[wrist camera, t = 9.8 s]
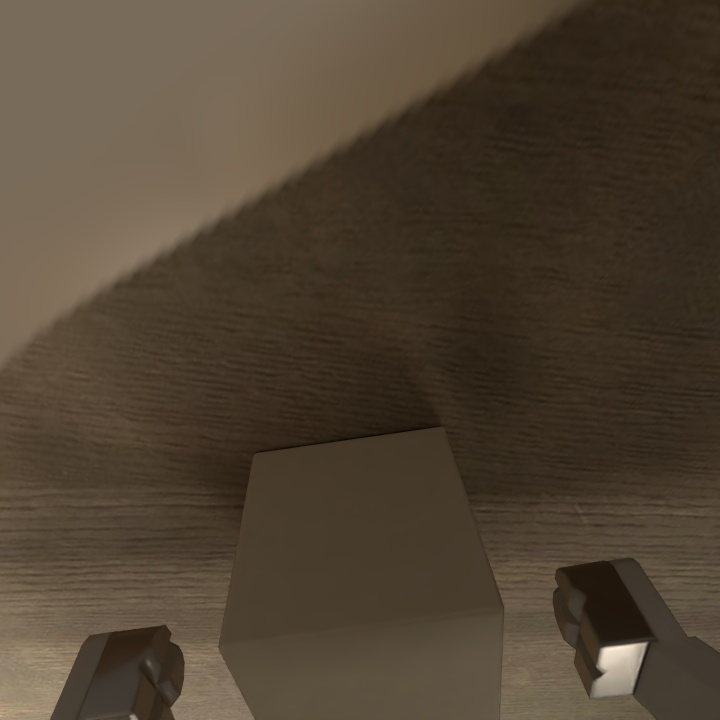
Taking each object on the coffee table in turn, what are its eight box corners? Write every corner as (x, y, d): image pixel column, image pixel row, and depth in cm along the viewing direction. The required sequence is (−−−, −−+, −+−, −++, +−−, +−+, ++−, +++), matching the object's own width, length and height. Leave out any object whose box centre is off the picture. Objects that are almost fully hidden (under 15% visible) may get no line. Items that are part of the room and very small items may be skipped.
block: (252, 451, 11) (215, 649, 7) (444, 424, 11) (506, 609, 7) (291, 571, 13) (278, 769, 10) (450, 549, 13) (500, 739, 10)
